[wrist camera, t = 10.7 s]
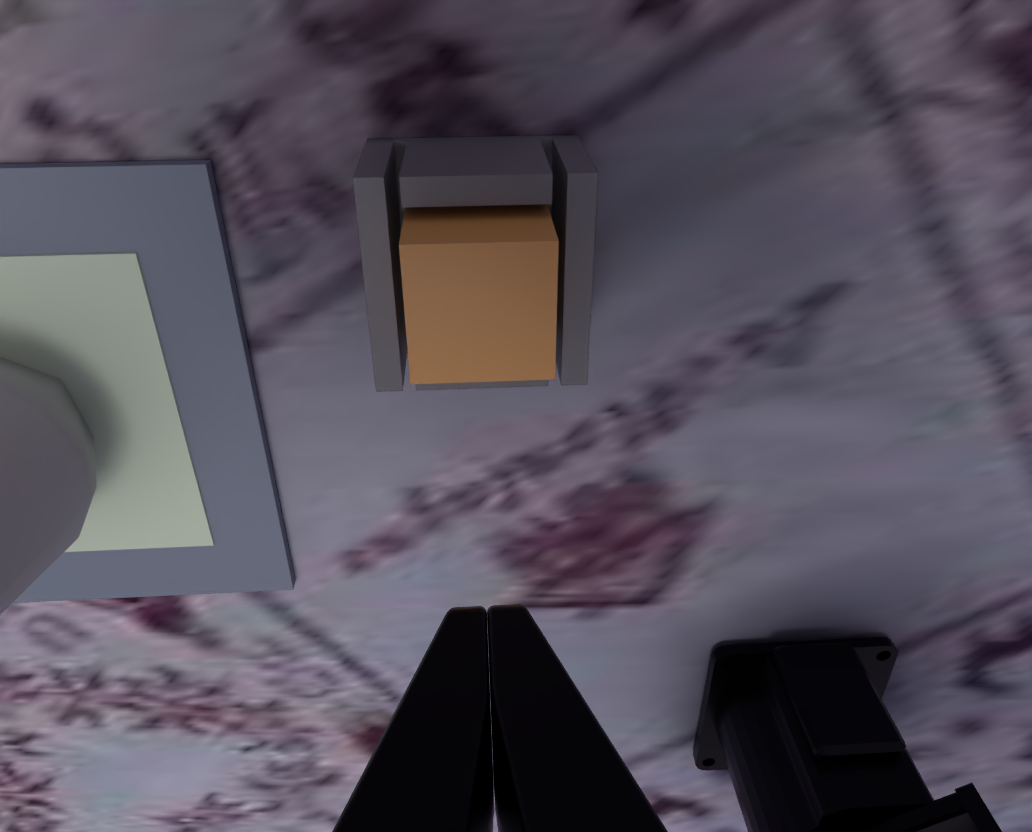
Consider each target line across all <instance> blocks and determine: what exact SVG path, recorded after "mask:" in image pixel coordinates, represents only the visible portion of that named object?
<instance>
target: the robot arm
mask: <svg viewBox="0 0 1032 832" xmlns="http://www.w3.org/2000/svg"><path fill="white" fill-rule="evenodd" d="M487 621H488V633H487ZM488 647H489V658H488ZM897 655H898V651H897V649H896V647H895V646H894V644H893V642H892V641H891V639H889V638H887V637H872V638H853V639H834V640H815V641H796V642H776V643H757V644H738V645H725V646H721V647H719V648H717V649H716V650H714V651H713V653H712V655H711V659H710V665H709V670H708V676H707V681H706V687H705V692H704V697H703V703H702V708H701V714H700V719H699V725H698V730H697V735H696V741H695V746H694V752H693V757H694V760H695V764H696V766H697V768H698V769H701V770H721V769H728V770H729V773H730V776H731V779H732V783H733V786H734V789H735V792H736V795H737V798H738V801H739V805H740V808H741V811H742V814H743V817H744V820H745V823H746V827H747V830H748V832H1002V831H1001V829H1000V828H999V826H998V825H997V823H996V821H995V820H994V818H993V816H992V815H991V813H990V811H989V810H988V808H987V806H986V805H985V803H984V802H983V800H982V798H981V797H980V795H979V793H978V792H977V790H976V788H975V787H974V785H973V783H970V784H967V785H964V786H962V787H959V788H956V789H955V791H956V793H953V794H950V795H948V796H945V797H943V798H940V799H937V800H935V801H934V799H933V798H932V796H931V794H930V792H929V790H928V788H927V786H926V785H925V783H924V781H923V779H922V777H921V775H920V773H919V772H918V770H917V768H916V766H915V764H914V762H913V760H912V759H911V757H910V755H909V753H908V751H907V749H906V745H905V742H904V740H903V738H902V736H901V734H900V732H899V731H898V729H897V727H896V725H895V723H894V721H893V719H892V718H891V716H890V714H889V712H888V710H887V708H886V707H885V705H884V703H883V701H882V696H883V694H884V691H885V688H886V685H887V683H888V680H889V677H890V674H891V672H892V669H893V666H894V663H895V661H896V658H897ZM489 672H490V684H489ZM490 698H491V710H490ZM491 723H492V735H491ZM492 748H493V761H492ZM493 774H494V786H493ZM494 794H495V809H496V817H497V825H498V832H668V831H667V830H666V828H665V827H664V825H663V823H662V822H661V820H660V819H659V817H658V816H657V814H656V812H655V811H654V809H653V808H652V806H651V804H650V803H649V801H648V800H647V798H646V797H645V795H644V793H643V792H642V790H641V789H640V787H639V785H638V784H637V782H636V781H635V779H634V778H633V776H632V774H631V773H630V771H629V770H628V768H627V766H626V765H625V763H624V762H623V760H622V759H621V757H620V755H619V754H618V752H617V751H616V749H615V747H614V746H613V744H612V743H611V741H610V740H609V738H608V736H607V735H606V733H605V732H604V730H603V728H602V727H601V725H600V724H599V722H598V721H597V719H596V717H595V716H594V714H593V713H592V711H591V709H590V708H589V706H588V705H587V703H586V702H585V700H584V698H583V697H582V695H581V694H580V692H579V690H578V689H577V687H576V686H575V684H574V683H573V681H572V679H571V678H570V676H569V675H568V673H567V671H566V670H565V668H564V667H563V665H562V664H561V662H560V660H559V659H558V657H557V656H556V654H555V652H554V651H553V649H552V648H551V646H550V645H549V643H548V641H547V640H546V638H545V637H544V635H543V633H542V632H541V630H540V629H539V627H538V626H537V624H536V622H535V621H534V619H533V618H532V616H531V614H530V613H529V611H528V610H527V609H526V608H525V607H524V606H523V605H521V604H514V605H494V606H491V607H489V609H488V611H487V612H486V610H485V608H484V607H482V606H474V607H454V608H451V609H450V610H449V611H448V612H447V613H446V615H445V617H444V619H443V621H442V623H441V625H440V626H439V628H438V630H437V632H436V634H435V636H434V638H433V640H432V642H431V644H430V646H429V647H428V649H427V651H426V653H425V655H424V657H423V659H422V661H421V663H420V665H419V667H418V669H417V670H416V672H415V674H414V676H413V678H412V680H411V682H410V684H409V686H408V688H407V690H406V692H405V693H404V695H403V697H402V699H401V701H400V703H399V705H398V707H397V709H396V711H395V713H394V714H393V716H392V718H391V720H390V722H389V724H388V726H387V728H386V730H385V732H384V734H383V736H382V737H381V739H380V741H379V743H378V745H377V747H376V749H375V751H374V753H373V755H372V757H371V759H370V760H369V762H368V764H367V766H366V768H365V770H364V772H363V774H362V776H361V778H360V780H359V781H358V783H357V785H356V787H355V789H354V791H353V793H352V795H351V797H350V799H349V801H348V803H347V804H346V806H345V808H344V810H343V812H342V814H341V816H340V818H339V820H338V822H337V824H336V826H335V827H334V829H333V831H332V832H493V815H494Z"/></svg>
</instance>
